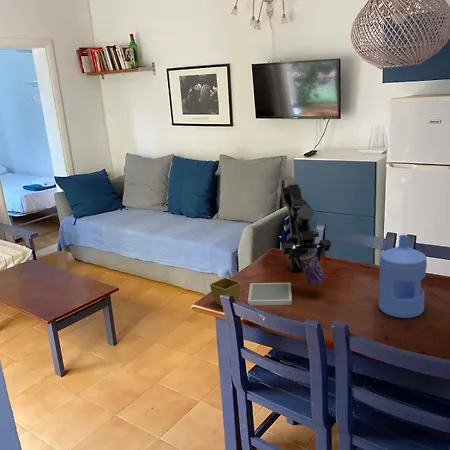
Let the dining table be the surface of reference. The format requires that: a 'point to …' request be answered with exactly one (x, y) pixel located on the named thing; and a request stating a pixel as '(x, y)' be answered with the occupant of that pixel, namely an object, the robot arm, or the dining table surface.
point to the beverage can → (312, 269)
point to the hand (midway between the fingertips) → (309, 266)
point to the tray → (270, 294)
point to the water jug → (402, 280)
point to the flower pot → (225, 289)
